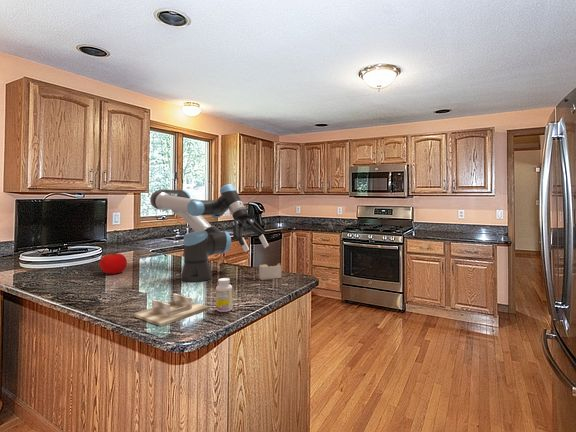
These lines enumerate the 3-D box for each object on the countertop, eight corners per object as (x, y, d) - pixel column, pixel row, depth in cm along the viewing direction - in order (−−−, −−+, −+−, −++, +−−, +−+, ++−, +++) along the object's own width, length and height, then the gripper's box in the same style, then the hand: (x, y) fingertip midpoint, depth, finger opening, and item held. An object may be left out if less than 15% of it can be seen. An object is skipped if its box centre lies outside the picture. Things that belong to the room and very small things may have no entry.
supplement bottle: (224, 306, 128) (224, 276, 127) (236, 309, 125) (235, 278, 124) (212, 310, 123) (212, 279, 122) (224, 313, 120) (224, 282, 119)
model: (259, 279, 171) (259, 264, 170) (278, 277, 175) (278, 262, 175) (261, 280, 168) (261, 265, 167) (281, 278, 172) (281, 263, 172)
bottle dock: (133, 316, 117) (132, 302, 117) (181, 301, 134) (181, 289, 133) (160, 326, 108) (160, 311, 108) (208, 309, 124) (208, 295, 124)
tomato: (131, 272, 185) (131, 252, 185) (108, 277, 174) (107, 255, 174) (119, 269, 192) (118, 250, 191) (95, 274, 181) (94, 253, 180)
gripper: (223, 209, 158) (242, 248, 151) (260, 206, 177) (278, 241, 171) (215, 217, 162) (233, 256, 155) (251, 214, 181) (269, 248, 175)
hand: (257, 248), depth 163 cm, fingers open, 13 cm apart
